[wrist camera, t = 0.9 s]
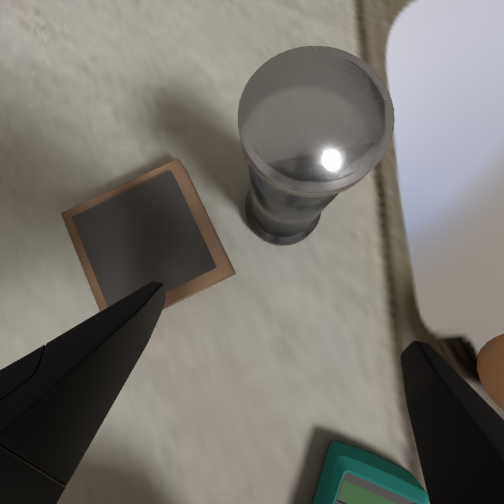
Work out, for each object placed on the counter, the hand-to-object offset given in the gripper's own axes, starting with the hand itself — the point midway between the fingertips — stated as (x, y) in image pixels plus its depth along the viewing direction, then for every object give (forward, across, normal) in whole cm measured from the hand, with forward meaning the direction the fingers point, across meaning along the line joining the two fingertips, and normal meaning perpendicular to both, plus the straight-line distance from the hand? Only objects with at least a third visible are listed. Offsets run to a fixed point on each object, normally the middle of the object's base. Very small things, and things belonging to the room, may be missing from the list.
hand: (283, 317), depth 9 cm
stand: (+11, +11, +7) cm, 17 cm away
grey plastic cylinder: (+15, 0, +3) cm, 15 cm away
